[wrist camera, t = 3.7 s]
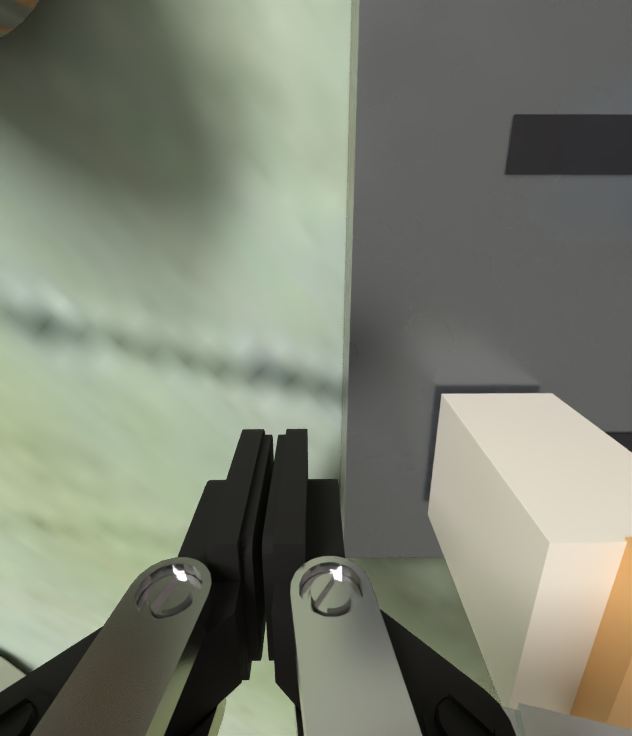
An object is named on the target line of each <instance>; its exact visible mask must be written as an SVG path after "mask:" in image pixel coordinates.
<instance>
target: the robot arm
mask: <svg viewBox="0 0 632 736" xmlns="http://www.w3.org/2000/svg"><path fill="white" fill-rule="evenodd" d="M265 625H267V641H268V656H269V661H274V664H275V682H276V683H277V685H278V686H279V687H280V688H281V689H282V690H283V692H284V693H285V694H286V695H287V696H288V697H289V698H290V700H291V701H292V702H293V703H294V714H295V724H296V735H297V736H632V730H631V729H627V728H623V727H618V726H614V725H610V724H606V723H602V722H597V721H593V720H589V719H585V718H581V717H576V716H572V715H568V714H564V713H560V712H555V711H551V710H547V709H543V708H539V707H534V706H530V705H526V704H522V703H518V707H517V710H516V709H512V708H507V707H503V706H500V704H499V703H498V702H497V701H496V700H495V699H494V698H493V697H492V696H491V695H490V694H489V693H488V692H487V691H486V690H484V689H483V688H482V687H480V686H479V685H478V684H477V683H475V682H474V681H473V680H471V679H470V678H469V677H467V676H466V675H465V674H464V673H462V672H461V671H460V670H458V669H457V668H456V667H455V666H453V665H452V664H451V663H449V662H448V661H447V660H445V659H444V658H443V657H442V656H440V655H439V654H438V653H436V652H435V651H434V650H432V649H431V648H430V647H429V646H427V645H426V644H425V643H423V642H422V641H421V640H420V639H418V638H417V637H416V636H414V635H413V634H412V633H410V632H409V631H408V630H407V629H405V628H404V627H403V626H401V625H400V624H399V623H398V622H396V621H395V620H394V619H392V618H391V617H390V616H388V615H387V614H386V613H385V612H383V611H382V610H381V609H380V608H379V605H378V602H377V599H376V596H375V593H374V590H373V588H372V585H371V582H370V580H369V578H368V576H367V574H366V572H365V571H364V570H363V569H362V568H361V567H359V566H358V565H357V564H356V563H354V562H352V561H350V560H348V559H346V558H345V551H344V540H343V529H342V519H341V508H340V498H339V487H338V480H337V479H308V434H307V429H287V430H286V435H278V440H277V446H276V453H275V459H274V454H273V437H272V435H265V431H264V429H243V430H242V433H241V436H240V439H239V442H238V445H237V448H236V451H235V454H234V457H233V460H232V463H231V466H230V470H229V473H228V476H227V479H226V480H209V481H208V482H207V484H206V486H205V489H204V491H203V494H202V496H201V499H200V501H199V504H198V506H197V509H196V511H195V514H194V517H193V519H192V522H191V524H190V527H189V529H188V532H187V534H186V537H185V539H184V542H183V545H182V547H181V550H180V552H179V555H178V557H175V558H171V559H167V560H163V561H161V562H159V563H156V564H154V565H152V566H150V567H149V568H148V569H146V570H145V571H144V572H142V573H141V574H140V575H139V576H138V577H137V578H136V579H135V581H134V582H133V583H132V584H131V585H130V587H129V588H128V590H127V591H126V593H125V594H124V596H123V597H122V599H121V600H120V602H119V603H118V605H117V606H116V608H115V609H114V611H113V612H112V614H111V615H110V617H109V618H108V620H107V621H106V623H105V624H104V626H103V627H101V628H99V629H98V630H96V631H95V632H93V633H92V634H90V635H89V636H87V637H85V638H84V639H82V640H81V641H79V642H78V643H76V644H75V645H73V646H71V647H70V648H68V649H67V650H65V651H64V652H62V653H60V654H59V655H57V656H56V657H54V658H53V659H51V660H50V661H48V662H46V663H45V664H43V665H42V666H40V667H39V668H37V669H35V670H34V671H32V672H31V673H29V674H28V675H26V674H25V673H23V672H22V671H21V670H19V669H18V668H17V667H15V666H14V665H13V664H11V663H10V662H9V661H7V660H6V659H5V658H3V657H1V656H0V736H217V735H218V732H219V728H220V725H221V722H222V719H223V716H224V711H225V705H226V697H227V696H228V695H229V694H230V693H231V692H232V691H233V690H234V689H235V688H236V687H237V686H239V685H240V684H241V683H242V680H249V678H250V671H251V663H252V661H261V658H262V651H263V642H264V633H265Z"/></svg>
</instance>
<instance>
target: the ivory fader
mask: <svg viewBox="0 0 632 736" xmlns="http://www.w3.org/2000/svg"><path fill="white" fill-rule="evenodd" d="M428 516H429V519H430V522H431V524H432V527H433V529H434V532H435V534H436V537H437V540H438V542H439V545H440V547H441V550H442V552H443V555H444V558H445V560H446V563H447V565H448V568H449V571H450V573H451V576H452V578H453V581H454V583H455V586H456V589H457V591H458V594H459V596H460V599H461V602H462V604H463V607H464V609H465V612H466V614H467V617H468V620H469V622H470V625H471V627H472V630H473V633H474V635H475V638H476V640H477V643H478V645H479V648H480V651H481V653H482V656H483V658H484V661H485V663H486V666H487V669H488V671H489V674H490V676H491V679H492V682H493V684H494V687H495V689H496V692H497V694H498V697H499V700H500V702H501V705H502V706H503V707H507V708H512V709H516V710H517V707H518V703H522V704H526V705H530V706H534V707H539V708H543V709H547V710H551V711H555V712H560V713H564V714H568V715H572V716H576V717H581V718H585V719H589V720H593V721H597V722H602V723H606V724H610V725H614V726H618V727H623V728H627V729H631V730H632V452H630V451H629V450H628V449H626V448H625V447H624V446H622V445H621V444H620V443H618V442H617V441H616V440H614V439H613V438H612V437H610V436H609V435H608V434H606V433H605V432H603V431H602V430H601V429H599V428H598V427H597V426H595V425H594V424H593V423H591V422H590V421H589V420H587V419H586V418H585V417H583V416H582V415H581V414H579V413H578V412H577V411H575V410H574V409H573V408H571V407H570V406H569V405H567V404H566V403H564V402H563V401H562V400H560V399H559V398H558V397H556V396H555V395H554V394H552V393H487V394H441V403H440V412H439V420H438V429H437V438H436V446H435V455H434V463H433V472H432V481H431V489H430V498H429V507H428Z"/></svg>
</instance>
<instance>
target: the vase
mask: <svg viewBox="0 0 632 736" xmlns="http://www.w3.org/2000/svg"><path fill="white" fill-rule="evenodd" d="M39 1H40V0H0V38H1V37H3V36H5V35H6V34H8V33H9V32H11V31H12V30H14V29H15V28H16V27H17V26H19V25H20V24H21V23H22V22H23V21H24V20H25V19H26V18H27V17H28V16H29V15H30V13H31V12H32V11H33V10H34V8H35V7H36V5H37V4H38V2H39Z"/></svg>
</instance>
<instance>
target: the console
mask: <svg viewBox="0 0 632 736" xmlns="http://www.w3.org/2000/svg"><path fill="white" fill-rule="evenodd" d="M487 393H552V394H554V395H555V396H556V397H558V398H559V399H560V400H562V401H563V402H564V403H566V404H567V405H569V406H570V407H571V408H573V409H574V410H575V411H577V412H578V413H579V414H581V415H582V416H583V417H585V418H586V419H587V420H589V421H590V422H591V423H593V424H594V425H595V426H597V427H598V428H599V429H601V430H602V431H603V432H605V433H606V434H608V435H609V436H610V437H612V438H613V439H614V440H616V441H617V442H618V443H620V444H621V445H622V446H624V447H625V448H626V449H628V450H629V451H630V452H632V0H352V8H351V50H350V92H349V134H348V176H347V218H346V260H345V302H344V344H343V386H342V428H341V470H340V508H341V519H342V529H343V540H344V551H345V558H422V557H444V555H443V552H442V550H441V547H440V545H439V542H438V540H437V537H436V534H435V532H434V529H433V527H432V524H431V522H430V519H429V516H428V507H429V498H430V489H431V481H432V472H433V463H434V455H435V446H436V438H437V429H438V420H439V412H440V403H441V394H487Z"/></svg>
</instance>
